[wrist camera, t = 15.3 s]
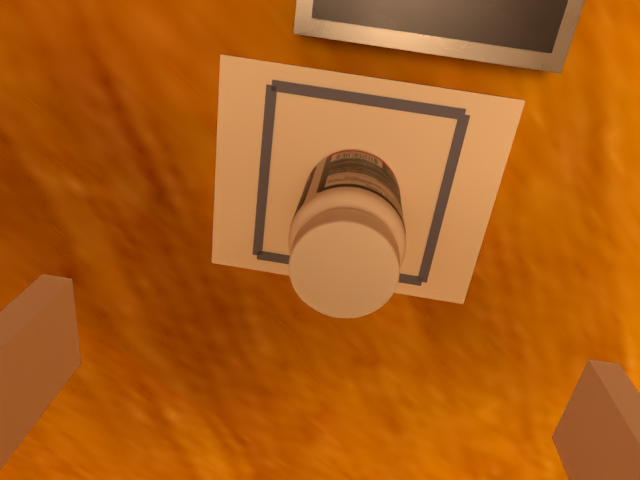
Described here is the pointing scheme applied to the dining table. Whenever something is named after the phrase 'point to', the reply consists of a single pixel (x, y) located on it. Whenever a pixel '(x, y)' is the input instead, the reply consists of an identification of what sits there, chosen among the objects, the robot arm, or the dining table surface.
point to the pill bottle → (347, 235)
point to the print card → (362, 134)
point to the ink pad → (451, 27)
